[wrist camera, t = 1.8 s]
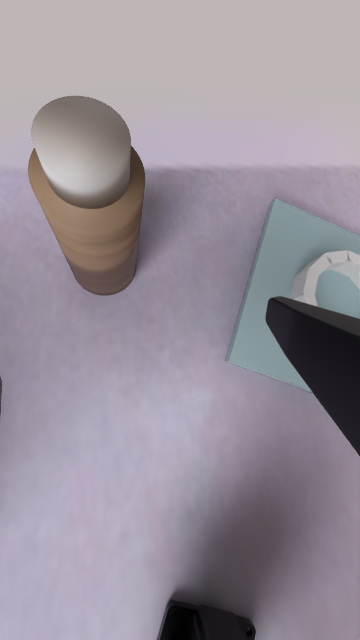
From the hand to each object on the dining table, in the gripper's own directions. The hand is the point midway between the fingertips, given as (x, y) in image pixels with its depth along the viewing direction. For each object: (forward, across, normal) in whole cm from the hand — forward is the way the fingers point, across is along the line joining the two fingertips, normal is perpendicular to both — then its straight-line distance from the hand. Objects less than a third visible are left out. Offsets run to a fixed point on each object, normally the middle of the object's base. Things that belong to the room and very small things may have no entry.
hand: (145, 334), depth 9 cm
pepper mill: (+15, +1, +4) cm, 16 cm away
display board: (+10, -18, +9) cm, 23 cm away
